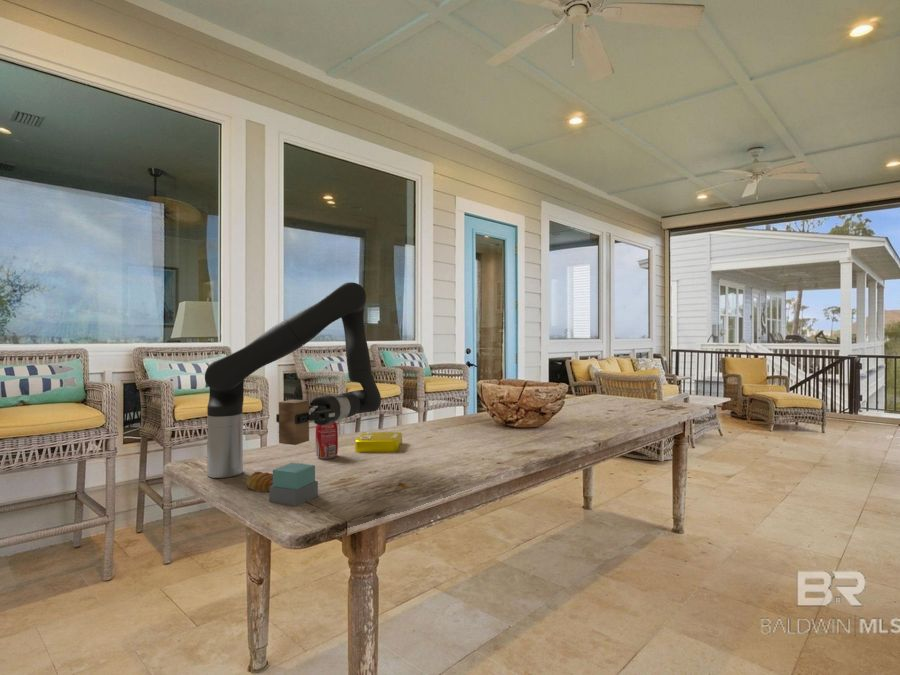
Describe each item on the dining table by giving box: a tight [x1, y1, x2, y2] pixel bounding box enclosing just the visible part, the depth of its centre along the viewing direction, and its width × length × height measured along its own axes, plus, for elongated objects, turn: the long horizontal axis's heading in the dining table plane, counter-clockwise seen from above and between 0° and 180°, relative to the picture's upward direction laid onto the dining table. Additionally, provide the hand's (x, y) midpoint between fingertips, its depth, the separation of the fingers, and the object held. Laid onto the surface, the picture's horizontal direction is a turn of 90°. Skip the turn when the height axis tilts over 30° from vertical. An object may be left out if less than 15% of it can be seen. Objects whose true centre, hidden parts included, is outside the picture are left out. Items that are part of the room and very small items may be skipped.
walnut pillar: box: [278, 399, 310, 446], centre depth 120 cm, size 5×5×10 cm
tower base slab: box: [268, 480, 319, 507], centre depth 120 cm, size 8×8×4 cm
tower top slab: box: [272, 462, 316, 490], centre depth 119 cm, size 7×7×4 cm
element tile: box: [354, 431, 403, 453], centre depth 174 cm, size 15×15×5 cm
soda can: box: [315, 422, 339, 460], centre depth 160 cm, size 7×7×12 cm
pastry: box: [245, 471, 273, 492], centre depth 128 cm, size 9×7×4 cm
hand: (286, 419), depth 117 cm, fingers closed on walnut pillar, 5 cm apart
